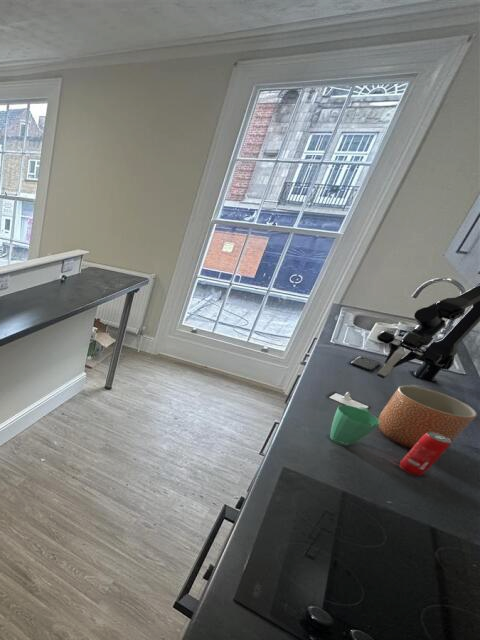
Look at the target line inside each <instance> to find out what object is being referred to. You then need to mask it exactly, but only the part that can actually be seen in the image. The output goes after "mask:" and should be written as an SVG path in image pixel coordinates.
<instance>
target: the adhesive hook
mask: <svg viewBox="0 0 480 640" xmlns="http://www.w3.org/2000/svg"><path fill="white" fill-rule="evenodd" d="M350 396H351V394H350V391H347V392H346V393H345V394H344V395H343V394H340V393H337V392H335V393H334V394H332V395H331V396H329V397H328V398H329V399H331V400H333V401H336V402H339V403H341V404H342V405H346V406H352V407H356V408H360V407H364V408H367V409H368V408H369V406H368V405H366V404H363V403H362V402H359V401H357V400H355V399H352V397H350Z"/></svg>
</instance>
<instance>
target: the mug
mask: <svg viewBox="0 0 480 640" xmlns="http://www.w3.org/2000/svg"><path fill="white" fill-rule="evenodd" d="M332 419H333V420H332V423H331V428H330V434H329V437H330V439H331V441H333V442H334V443H336V444H338V445H341V446H345V447H348V446H350V445H352V444H354V443H356V442H358V441H360V440H361V439H363V438H364V437H365V436H367V435H369V434H371V432H373V430H375V429H376V428H377V427H379V426H378V425H379V424H380V421H379V417H377V416H375V414H372V413H371V412H370V409H368V408H364V407H360V408H356V407H352V406H348V405H345V404H342V405H339V406H338V407H337V409H336V411H335V412H334V416H333V418H332ZM334 438H335V439H334ZM340 441H341V442H340ZM342 442H344V443H342ZM345 443H349V444H345Z"/></svg>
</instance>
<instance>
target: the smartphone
mask: <svg viewBox="0 0 480 640" xmlns="http://www.w3.org/2000/svg"><path fill="white" fill-rule="evenodd" d="M380 364H381V362H380V361H378V360H376V359H372V358H369V357H367V356H364V355H359V356H358V357H356V358H355V359H353V360H352V361H351V362H350V365H352V366H355V367H357V368H360V369H364V370H366V371H371V372H372V371H373V370H374V369H375V368H376V367H378V366H379V365H380Z"/></svg>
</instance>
